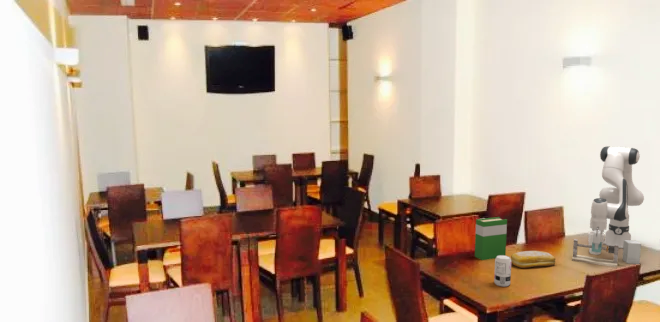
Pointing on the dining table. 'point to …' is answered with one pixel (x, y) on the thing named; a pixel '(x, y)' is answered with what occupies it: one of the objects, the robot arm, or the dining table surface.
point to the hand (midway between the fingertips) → (596, 247)
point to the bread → (532, 259)
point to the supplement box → (631, 251)
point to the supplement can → (502, 270)
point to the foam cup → (590, 240)
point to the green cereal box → (490, 238)
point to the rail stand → (592, 259)
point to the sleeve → (598, 247)
